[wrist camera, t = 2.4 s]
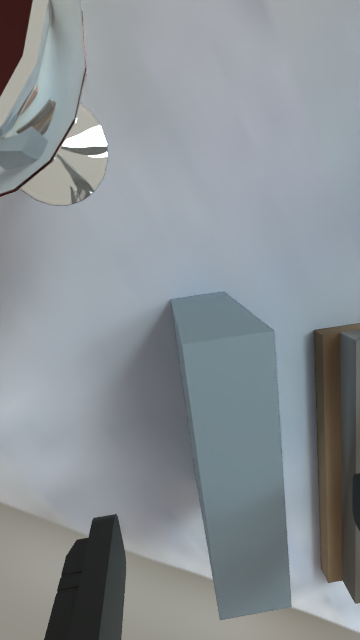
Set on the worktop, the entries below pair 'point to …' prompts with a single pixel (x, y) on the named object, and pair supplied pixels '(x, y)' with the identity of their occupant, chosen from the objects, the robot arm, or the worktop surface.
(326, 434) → the door track
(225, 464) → the door panel
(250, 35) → the worktop surface
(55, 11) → the wineglass
